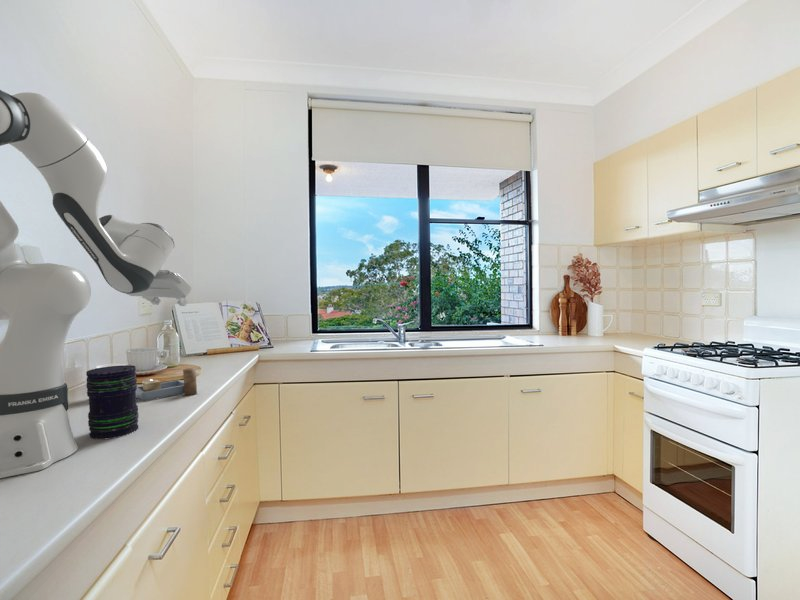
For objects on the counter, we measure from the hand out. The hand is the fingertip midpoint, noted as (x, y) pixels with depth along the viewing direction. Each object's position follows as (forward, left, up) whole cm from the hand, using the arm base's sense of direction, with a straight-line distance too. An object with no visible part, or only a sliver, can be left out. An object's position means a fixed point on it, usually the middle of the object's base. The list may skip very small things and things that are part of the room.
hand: (170, 303), depth 123 cm
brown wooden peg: (+7, +9, -29) cm, 32 cm away
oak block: (-2, +15, -28) cm, 32 cm away
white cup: (-11, +25, -29) cm, 40 cm away
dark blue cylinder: (-18, -15, -29) cm, 37 cm away
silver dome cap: (-2, +19, -28) cm, 34 cm away
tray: (+1, +17, -29) cm, 34 cm away
